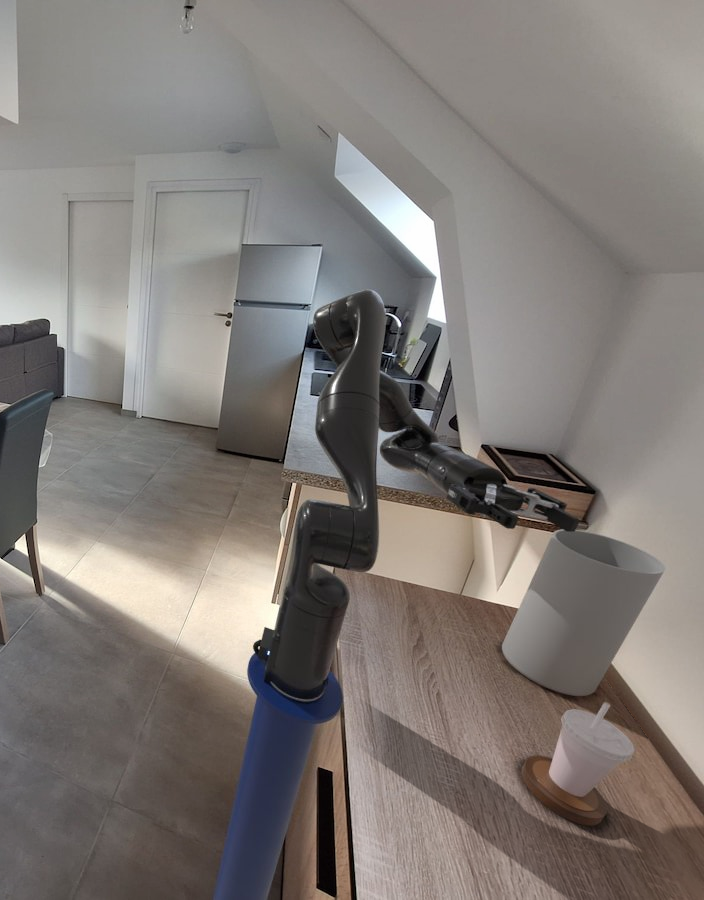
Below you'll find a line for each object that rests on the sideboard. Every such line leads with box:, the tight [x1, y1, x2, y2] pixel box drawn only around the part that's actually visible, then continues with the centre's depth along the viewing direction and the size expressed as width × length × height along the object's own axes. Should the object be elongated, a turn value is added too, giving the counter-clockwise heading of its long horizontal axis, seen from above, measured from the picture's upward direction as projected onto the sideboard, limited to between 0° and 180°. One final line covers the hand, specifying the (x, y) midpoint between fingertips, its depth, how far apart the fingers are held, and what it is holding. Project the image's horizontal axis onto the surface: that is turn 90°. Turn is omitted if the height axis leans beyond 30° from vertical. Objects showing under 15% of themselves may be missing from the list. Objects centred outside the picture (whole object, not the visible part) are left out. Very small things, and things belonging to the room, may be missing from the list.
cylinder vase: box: [501, 528, 666, 697], centre depth 77 cm, size 12×12×25 cm
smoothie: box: [549, 701, 635, 797], centre depth 58 cm, size 6×6×14 cm
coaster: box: [520, 755, 608, 827], centre depth 61 cm, size 8×8×2 cm
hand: (544, 524), depth 64 cm, fingers open, 8 cm apart
